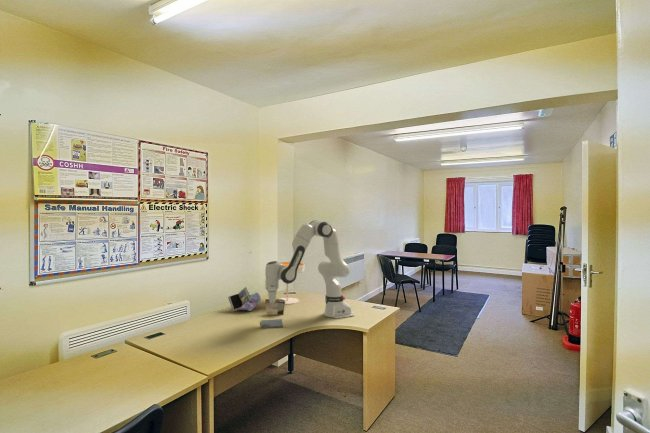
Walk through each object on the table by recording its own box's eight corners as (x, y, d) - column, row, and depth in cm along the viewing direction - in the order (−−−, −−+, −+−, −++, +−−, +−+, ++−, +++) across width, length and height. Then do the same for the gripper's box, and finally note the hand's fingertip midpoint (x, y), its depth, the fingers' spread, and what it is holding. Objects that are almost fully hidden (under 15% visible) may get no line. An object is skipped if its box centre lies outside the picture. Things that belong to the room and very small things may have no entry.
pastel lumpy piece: (266, 300, 265) (255, 281, 266) (257, 306, 243) (245, 285, 245) (245, 312, 267) (235, 293, 268) (234, 320, 245) (223, 299, 247)
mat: (281, 320, 230) (281, 319, 230) (283, 327, 216) (283, 325, 216) (261, 321, 228) (261, 320, 228) (261, 328, 214) (261, 327, 214)
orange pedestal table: (292, 295, 300) (292, 260, 300) (311, 302, 278) (312, 264, 277) (263, 300, 282) (263, 264, 281) (281, 308, 259) (281, 268, 258)
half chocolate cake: (287, 312, 249) (287, 299, 249) (285, 314, 243) (285, 301, 243) (271, 311, 250) (271, 298, 250) (268, 314, 244) (268, 300, 244)
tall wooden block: (265, 312, 223) (265, 299, 223) (278, 311, 225) (278, 298, 225) (265, 314, 219) (265, 301, 219) (279, 313, 220) (279, 300, 220)
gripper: (267, 282, 231) (267, 302, 231) (267, 289, 211) (267, 311, 211) (276, 282, 232) (276, 302, 233) (277, 289, 212) (277, 310, 212)
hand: (272, 306), depth 222 cm, fingers closed on tall wooden block, 5 cm apart
